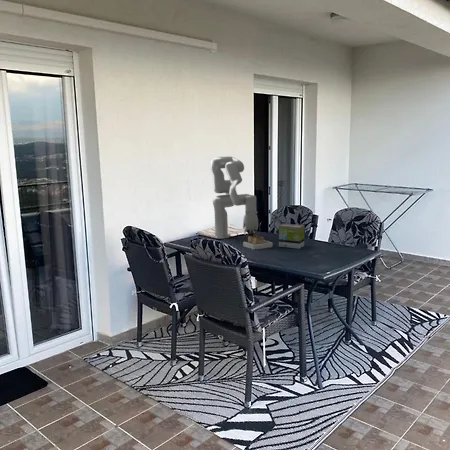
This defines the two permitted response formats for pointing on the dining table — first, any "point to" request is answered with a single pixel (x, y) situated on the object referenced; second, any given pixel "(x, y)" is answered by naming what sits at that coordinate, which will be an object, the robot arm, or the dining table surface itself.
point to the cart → (255, 240)
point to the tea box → (291, 236)
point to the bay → (258, 245)
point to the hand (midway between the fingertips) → (250, 239)
